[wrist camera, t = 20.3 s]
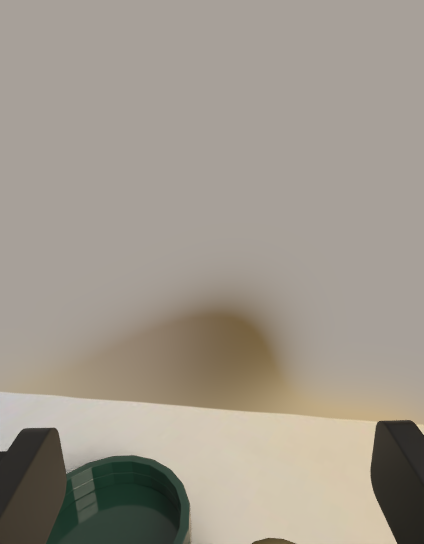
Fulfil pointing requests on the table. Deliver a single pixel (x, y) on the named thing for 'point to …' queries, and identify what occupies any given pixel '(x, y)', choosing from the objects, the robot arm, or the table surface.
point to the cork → (273, 541)
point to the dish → (123, 504)
